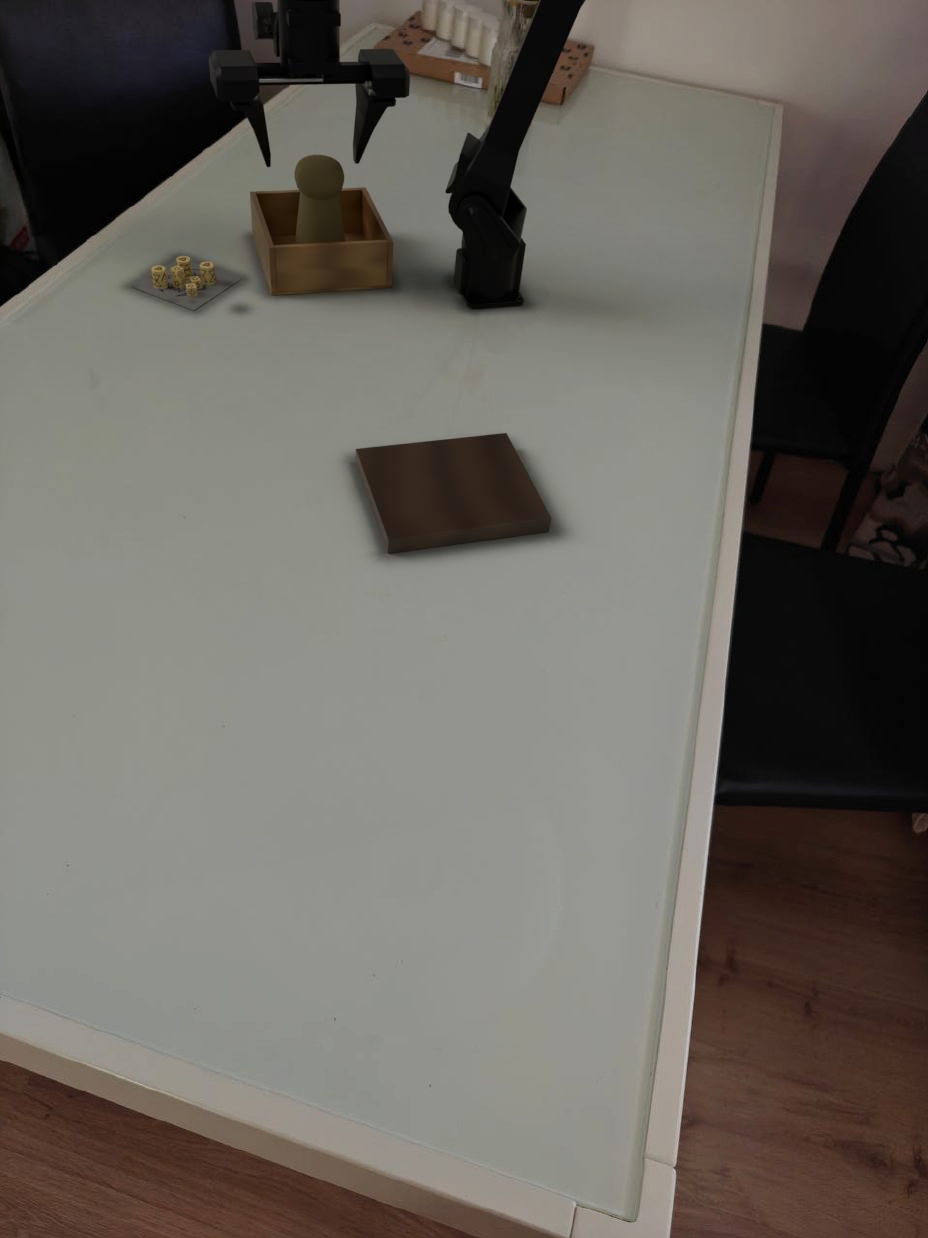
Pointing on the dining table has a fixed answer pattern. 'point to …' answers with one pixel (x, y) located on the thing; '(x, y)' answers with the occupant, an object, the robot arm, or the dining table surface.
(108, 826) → the dining table surface
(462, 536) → the walnut board
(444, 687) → the dining table surface
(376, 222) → the wooden box
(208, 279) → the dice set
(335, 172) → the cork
